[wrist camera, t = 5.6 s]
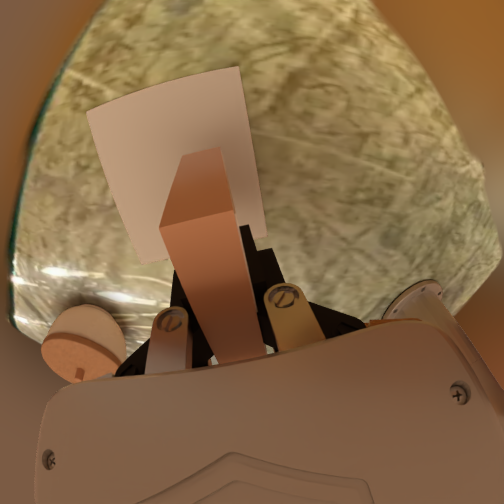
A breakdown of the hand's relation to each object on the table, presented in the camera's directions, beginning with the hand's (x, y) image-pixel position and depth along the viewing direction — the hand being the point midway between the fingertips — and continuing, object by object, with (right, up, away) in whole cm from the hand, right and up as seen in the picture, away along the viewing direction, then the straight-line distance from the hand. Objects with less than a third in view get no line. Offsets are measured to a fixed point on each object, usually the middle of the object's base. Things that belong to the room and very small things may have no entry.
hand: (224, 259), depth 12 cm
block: (0, +1, +2) cm, 2 cm away
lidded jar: (-19, -8, +18) cm, 28 cm away
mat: (-5, +7, +10) cm, 13 cm away
